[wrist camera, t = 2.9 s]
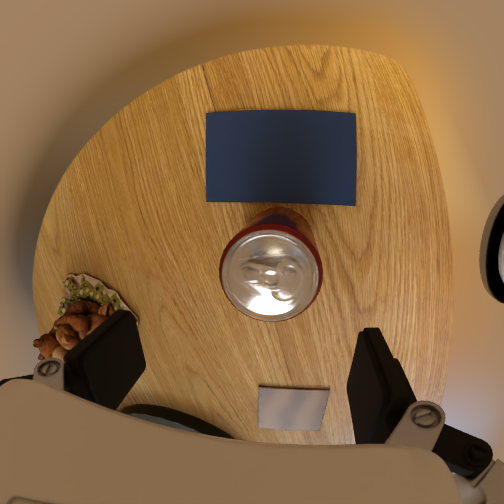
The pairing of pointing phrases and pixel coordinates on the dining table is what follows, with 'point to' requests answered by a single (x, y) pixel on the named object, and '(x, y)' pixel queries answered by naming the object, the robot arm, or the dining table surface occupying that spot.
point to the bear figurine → (79, 315)
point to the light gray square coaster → (291, 408)
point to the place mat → (281, 157)
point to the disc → (173, 419)
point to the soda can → (272, 266)
